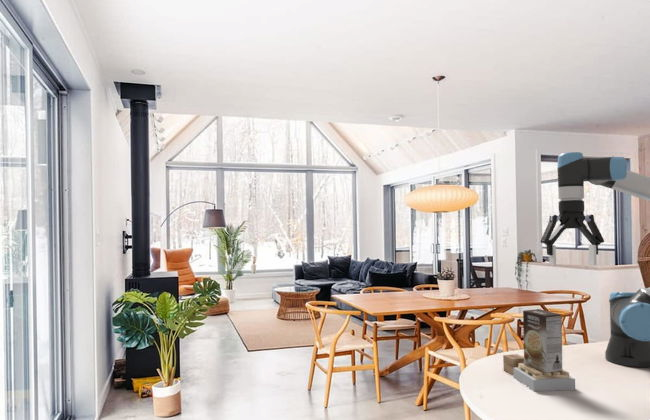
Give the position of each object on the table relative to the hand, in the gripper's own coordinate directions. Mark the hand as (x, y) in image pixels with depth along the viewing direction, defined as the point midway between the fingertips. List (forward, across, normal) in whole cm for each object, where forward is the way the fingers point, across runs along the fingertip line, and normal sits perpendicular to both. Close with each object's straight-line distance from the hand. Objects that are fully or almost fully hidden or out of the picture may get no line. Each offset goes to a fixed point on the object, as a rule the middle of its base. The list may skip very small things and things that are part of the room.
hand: (572, 265), depth 157 cm
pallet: (+30, +19, +15) cm, 38 cm away
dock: (+33, +19, +15) cm, 41 cm away
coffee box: (+28, +19, +15) cm, 37 cm away
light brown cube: (+33, +22, +4) cm, 40 cm away
